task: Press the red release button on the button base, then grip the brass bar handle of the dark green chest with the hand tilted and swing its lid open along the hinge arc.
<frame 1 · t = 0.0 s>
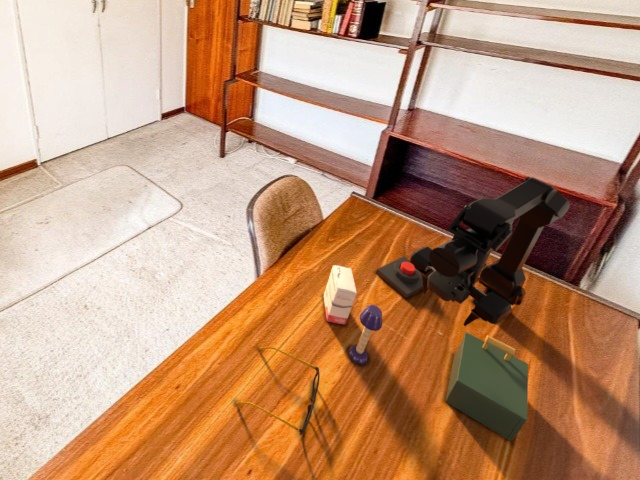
hand: (444, 308, 89), 15 cm above the table, tool pointing down, fingers open, 9 cm apart
chest lid: (495, 367, 83), point 9 cm above the table, hinge at 0.0°
toy lamp: (357, 357, 94), on the table
chest: (480, 394, 87), on the table
release button: (407, 268, 114), point 4 cm above the table, slide at 0.1 cm
eyeglasses: (279, 392, 86), on the table
button base: (404, 278, 116), on the table
ink box: (334, 310, 105), on the table
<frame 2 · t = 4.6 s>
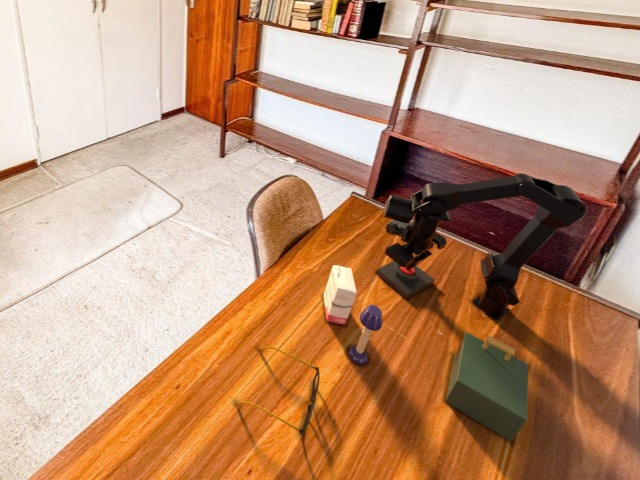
hand: (407, 268, 114), 4 cm above the table, tool pointing down, fingers closed, pressing on release button
release button: (406, 270, 115), point 3 cm above the table, slide at -0.9 cm, touching gripper
everything else where it was.
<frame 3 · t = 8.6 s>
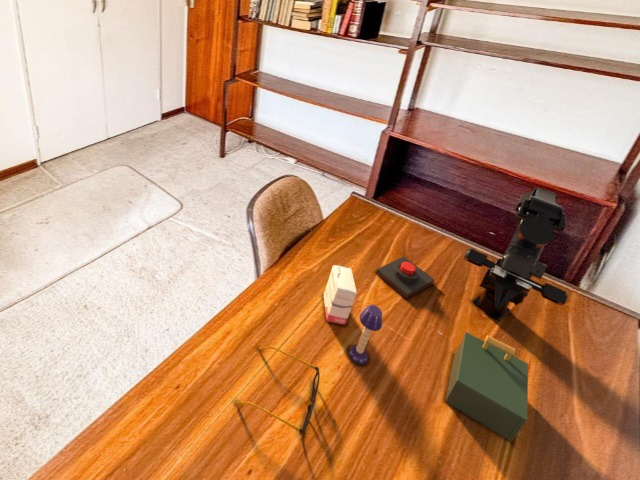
hand: (496, 308, 91), 13 cm above the table, tool tilted 40°, fingers closed
release button: (407, 268, 114), point 4 cm above the table, slide at 0.1 cm
everything else where it was.
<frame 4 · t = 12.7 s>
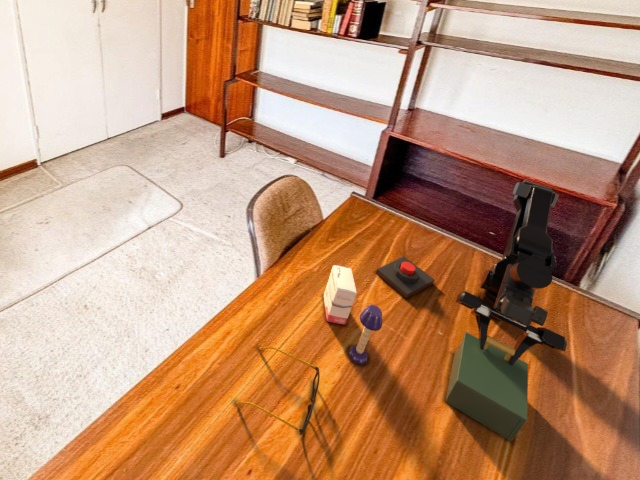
hand: (495, 356, 86), 8 cm above the table, tool tilted 45°, fingers closed on chest lid, 5 cm apart
chest lid: (495, 367, 83), point 9 cm above the table, hinge at 0.0°, touching gripper
everything else where it was.
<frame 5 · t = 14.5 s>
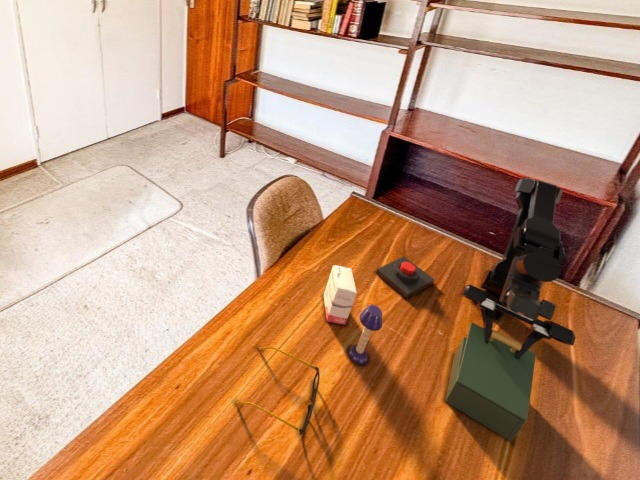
hand: (500, 351, 84), 12 cm above the table, tool tilted 45°, fingers closed on chest lid, 5 cm apart
chest lid: (499, 364, 82), point 11 cm above the table, hinge at 16.9°, touching gripper
everything else where it was.
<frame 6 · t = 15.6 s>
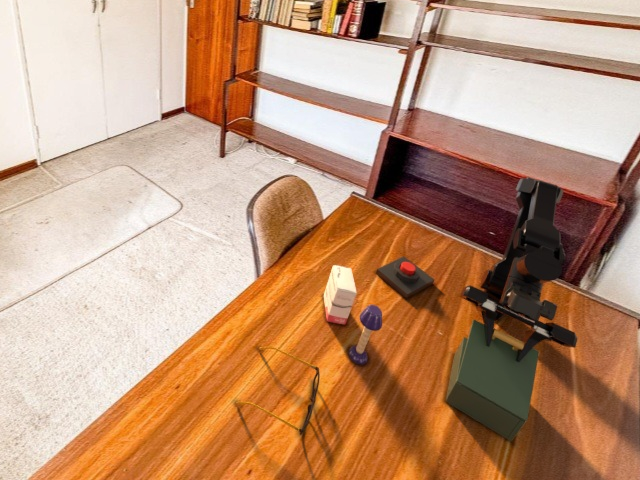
hand: (502, 353, 83), 12 cm above the table, tool tilted 45°, fingers closed on chest lid, 5 cm apart
chest lid: (500, 364, 81), point 12 cm above the table, hinge at 23.6°, touching gripper
everything else where it was.
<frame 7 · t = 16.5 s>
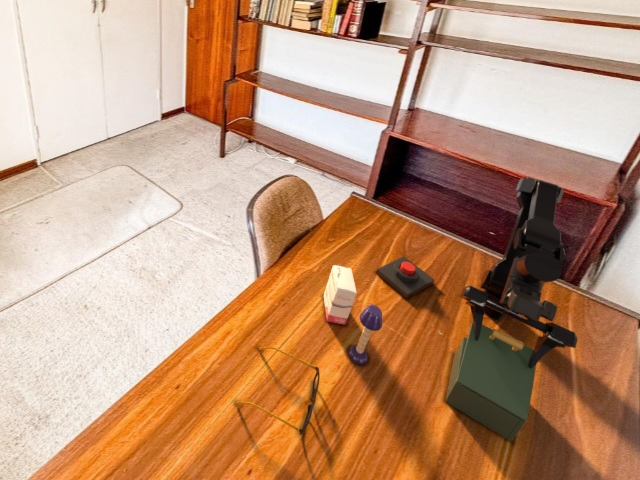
hand: (502, 353, 83), 12 cm above the table, tool tilted 45°, fingers open, 9 cm apart
chest lid: (500, 364, 81), point 12 cm above the table, hinge at 21.7°
everything else where it was.
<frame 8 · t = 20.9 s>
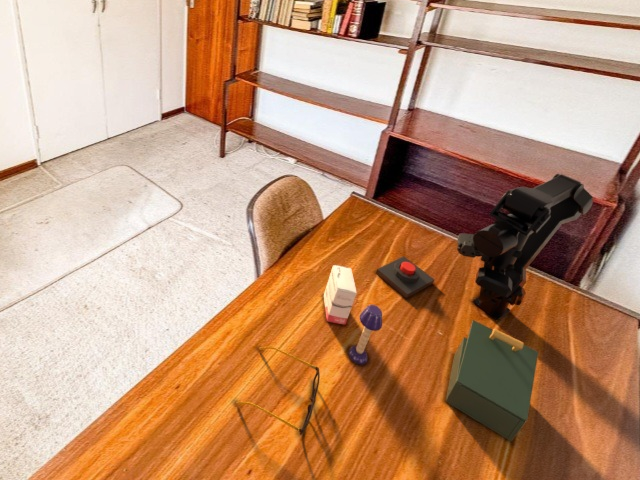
hand: (482, 288, 97), 13 cm above the table, tool pointing down, fingers open, 9 cm apart
nothing on the table moved.
at the end: release button pushed in 1.1 cm at the most during the clip, back to where it started at the end; release button slide at 0.1 cm; chest lid at +22° (first picture: +0°) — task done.
